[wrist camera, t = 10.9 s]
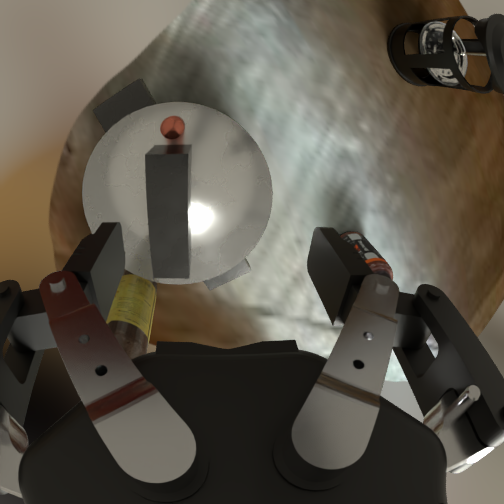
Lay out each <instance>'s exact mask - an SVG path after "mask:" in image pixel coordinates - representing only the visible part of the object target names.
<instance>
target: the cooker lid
mask: <svg viewBox="0 0 504 504" xmlns="http://www.w3.org/2000/svg"><path fill="white" fill-rule="evenodd" d="M272 195H273V191H272V180H271V176H270V172H269V168H268V165H267V163H266V160H265V158H264V155H263V154H262V152H261V150H260V148H259V147H258V145H257V143H256V142H255V141H254V140H253V138H252V137H251V136H250V135H249V133H248V132H247V131H246V130H244V129H243V128H242V127H241V126H240V125H239V124H238V123H237V122H235V121H234V120H233V119H231V118H230V117H229V116H227V115H225V114H223V113H221V112H219V111H217V110H215V109H213V108H210V107H207V106H204V105H200V104H195V103H190V102H168V103H160V104H156V105H151V106H147V107H145V108H142V109H140V110H137V111H135V112H133V113H131V114H129V115H127V116H126V117H124V118H122V119H121V120H120V121H118V122H117V123H116V124H115V125H113V126H112V127H111V128H110V129H109V130H108V131H107V132H106V133H105V134H104V135H103V137H102V138H101V139H100V141H99V142H98V144H97V145H96V146H95V148H94V150H93V152H92V154H91V156H90V158H89V161H88V163H87V166H86V169H85V174H84V179H83V188H82V198H83V207H84V212H85V217H86V219H87V222H88V225H89V228H90V230H91V232H92V234H94V233H95V232H96V230H97V229H98V227H99V226H100V225H101V223H102V222H120V224H121V227H122V235H123V243H124V251H125V269H126V270H128V271H129V272H131V273H133V274H135V275H137V276H140V277H142V278H144V279H148V280H151V281H154V282H159V283H165V284H191V283H197V282H201V281H205V280H209V279H212V278H214V277H216V276H219V275H221V274H223V273H225V272H227V271H228V270H230V269H232V268H233V267H234V266H236V265H237V264H239V263H240V262H241V261H242V260H243V259H244V258H245V257H246V256H248V254H249V253H250V252H251V251H252V250H253V249H254V247H255V246H256V245H257V243H258V242H259V240H260V238H261V237H262V235H263V233H264V231H265V229H266V226H267V223H268V220H269V217H270V213H271V207H272Z"/></svg>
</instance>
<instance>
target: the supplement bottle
mask: <svg viewBox="0 0 504 504" xmlns="http://www.w3.org/2000/svg"><path fill="white" fill-rule="evenodd" d="M340 237H341V238H342V239H344V240H346V241H347V242H349V243H350V244H352V245H353V246H354V247H355V249H356V250H357V251H358V254H360V255H361V256H362V258H363V259H364V260H365V262H366V263H367V264H368V266H369V267H370V268H371V270H372V271H373V272H374V274H379V275H383V276H385V277H388V278H389V279H391V280H393V272H392V269H391V267H390V266H389V264H388V263H387V262H386V261H385V259H384V258H383V257H382V256H381V255H380V254H379V252H378V251H377V250H376V249H375V248H374V247H373V246H372V245H371V244H370V242H369V241H368V240H367V239H366V238H365V237H364V236H363V235H362V234H360V233H358V232H347V233H344V234H342V235H341V236H340Z"/></svg>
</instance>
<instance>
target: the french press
mask: <svg viewBox="0 0 504 504" xmlns="http://www.w3.org/2000/svg"><path fill="white" fill-rule="evenodd" d="M461 18H462V19H466V20H467V21H469V22H471V23H472V24H473V25H474V26H475V34H476V36H477V38H478V39H460V38H459V36H458V35H457V34H456V32H455V31H454V30H453V29H454V26H455V24H456V22H457V21H458V20H459V19H461ZM444 20H448V22H447V23H446V24H444V23H442V22H437V21H444ZM429 22H430V23H429ZM408 31H413V32H416V33H419V34H420V35H419V40H418V49H419V54H412V55H405V50H404V40H405V35H406V33H407V32H408ZM387 45H388V54H389V58H390V61H391V63H392V65H393V67H394V69H395V70H396V72H397V73H398V74H399V75H400V76H401V77H402V78H403V79H404V80H405V81H407V82H408V83H410V84H412V85H416V86H427V85H428V86H441V87H449V88H456V89H462V90H469V91H472V92H477V93H489V92H491V91H492V90H493V89H494V90H495V91H496V92H498V93H502V94H504V15H502V14H493V15H491V16H490V17H489V18H485V19H481V20H479V21H478V20H476V19H475V18H473V17H470V16H456V17H448V18H440V19H433V20H427V21H421V22H415V23H402V24H399V25H397V26H396V27H395V28H393V30H392V31H391V33H390V35H389V38H388V43H387ZM467 55H473V56H486V57H487V60H488V64H489V67H490V70H491V76H490V79H489V81H488V83H487V85H486V86H485V87H481V86H475V85H470V84H469V83H468V82H467V81H466V79H465V78H464V77H465V74H466V71H467ZM412 68H426V70H427V71H428V73H429V75H427V76H426V77H422V78H420V77H418V76H417V75H416V74H415V73H414V71H413V70H412Z"/></svg>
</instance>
